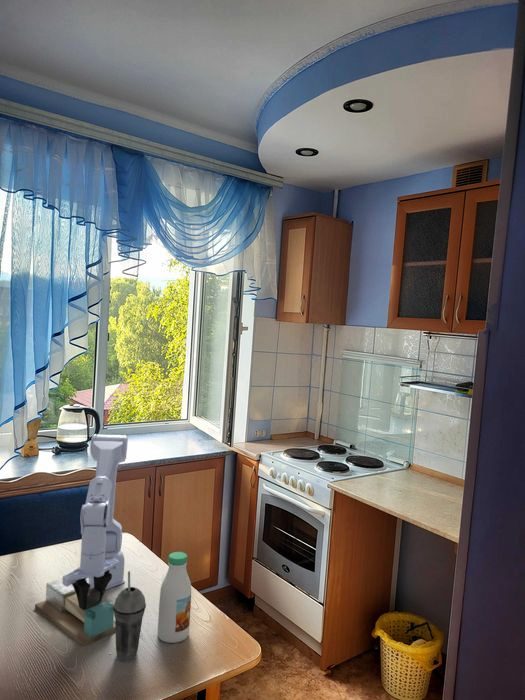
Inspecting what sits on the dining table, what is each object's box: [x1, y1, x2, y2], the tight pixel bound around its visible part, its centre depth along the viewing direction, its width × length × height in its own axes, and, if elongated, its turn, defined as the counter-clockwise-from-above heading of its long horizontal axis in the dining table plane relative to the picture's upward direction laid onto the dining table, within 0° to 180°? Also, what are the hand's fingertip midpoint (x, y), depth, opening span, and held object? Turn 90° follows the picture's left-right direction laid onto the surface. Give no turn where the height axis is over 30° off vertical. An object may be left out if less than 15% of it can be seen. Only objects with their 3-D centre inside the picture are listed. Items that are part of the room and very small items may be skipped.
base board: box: [34, 599, 116, 647], centre depth 133 cm, size 10×23×1 cm, turn 50°
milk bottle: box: [157, 551, 192, 644], centre depth 128 cm, size 8×8×20 cm
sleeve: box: [45, 577, 75, 613], centre depth 137 cm, size 5×8×5 cm, turn 50°
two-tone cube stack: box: [64, 588, 101, 622], centre depth 131 cm, size 4×14×7 cm, turn 50°
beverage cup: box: [113, 570, 147, 663], centre depth 119 cm, size 7×7×20 cm
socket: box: [84, 600, 115, 638], centre depth 126 cm, size 6×3×6 cm, turn 140°
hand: (89, 604), depth 129 cm, fingers closed on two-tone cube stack, 4 cm apart
